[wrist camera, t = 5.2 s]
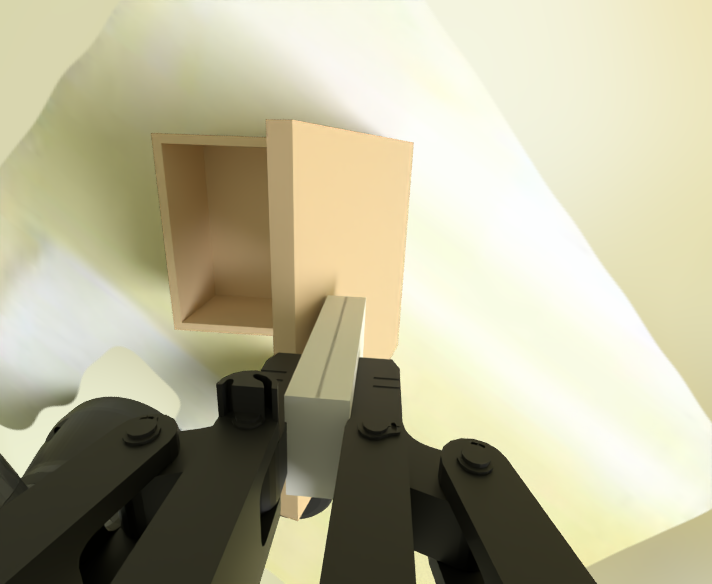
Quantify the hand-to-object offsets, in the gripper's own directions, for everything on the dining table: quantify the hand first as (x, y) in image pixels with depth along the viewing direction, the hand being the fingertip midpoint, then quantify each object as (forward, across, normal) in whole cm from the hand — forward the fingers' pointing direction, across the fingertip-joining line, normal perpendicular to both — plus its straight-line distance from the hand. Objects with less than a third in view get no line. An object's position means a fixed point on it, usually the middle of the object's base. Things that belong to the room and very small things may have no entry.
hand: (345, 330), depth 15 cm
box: (+20, -6, 0) cm, 21 cm away
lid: (+6, 0, 0) cm, 6 cm away
